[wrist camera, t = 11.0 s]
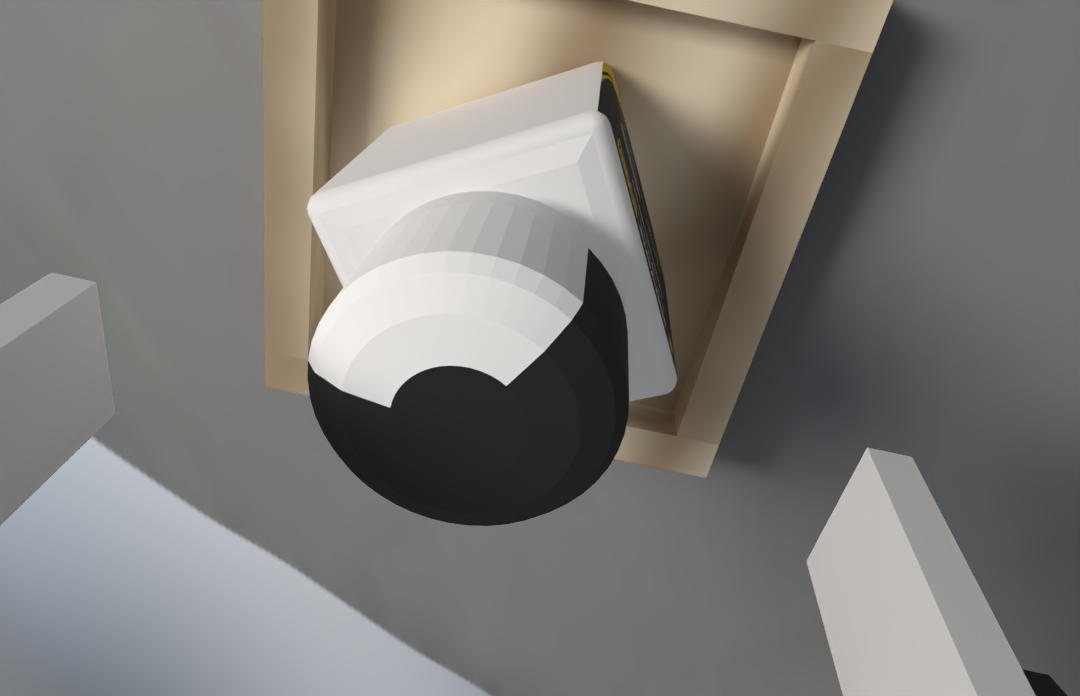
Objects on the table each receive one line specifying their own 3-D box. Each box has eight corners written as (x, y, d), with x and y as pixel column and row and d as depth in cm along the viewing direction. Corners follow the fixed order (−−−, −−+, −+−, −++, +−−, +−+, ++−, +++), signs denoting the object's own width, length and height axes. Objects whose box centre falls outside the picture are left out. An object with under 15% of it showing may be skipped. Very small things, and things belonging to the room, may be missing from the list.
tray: (868, -18, 20) (897, -11, 18) (699, 436, 28) (706, 478, 26) (300, -140, 20) (261, -148, 18) (292, 351, 28) (265, 386, 26)
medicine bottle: (665, 277, 24) (700, 539, 14) (464, 325, 26) (361, 593, 16) (609, 55, 21) (600, 182, 11) (383, 127, 23) (186, 297, 12)
